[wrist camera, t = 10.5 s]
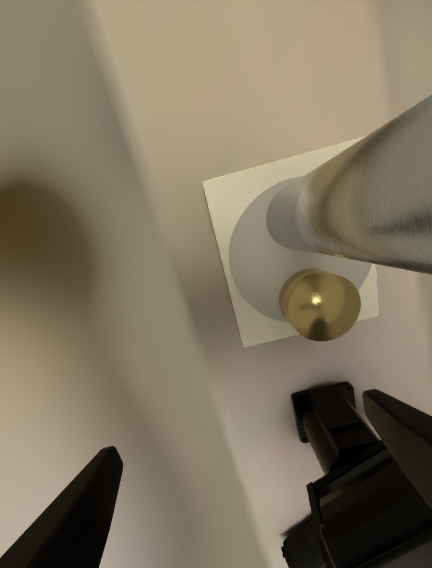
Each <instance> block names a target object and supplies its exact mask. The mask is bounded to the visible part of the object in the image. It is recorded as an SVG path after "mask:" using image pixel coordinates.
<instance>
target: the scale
mask: <svg viewBox="0 0 432 568" xmlns="http://www.w3.org/2000/svg"><path fill="white" fill-rule="evenodd" d="M365 137H366V136H365ZM363 138H364V137H361V138H358V139H354V140H350V141H347V142H343V143H340V144H336V145H332V146H329V147H325V148H321V149H318V150H314V151H310V152H307V153H303V154H300V155H296V156H292V157H289V158H285V159H281V160H278V161H274V162H271V163H267V164H263V165H260V166H256V167H252V168H249V169H245V170H241V171H238V172H234V173H231V174H227V175H223V176H220V177H216V178H212V179H209V180H205V181H202V183H203V187H204V192H205V196H206V200H207V204H208V208H209V212H210V216H211V220H212V224H213V228H214V232H215V236H216V240H217V244H218V248H219V252H220V256H221V260H222V264H223V268H224V272H225V276H226V280H227V284H228V288H229V292H230V296H231V300H232V304H233V308H234V312H235V316H236V320H237V324H238V328H239V332H240V336H241V340H242V344H243V348H245V347H249V346H254V345H258V344H262V343H267V342H271V341H275V340H279V339H284V338H288V337H292V336H296V335H301V334H300V333H299V332H298V331H297V330H296V329H295V328H294V327H293V326H292V324H291V323H290V322H289V321H288V320H287V319H286V318H285V316H284V315H283V314H282V312H281V309H280V306H279V294H280V291H281V288H282V286H283V285H284V283H285V282H286V280H287V279H288V278H289V277H290V276H292V275H293V274H295V273H296V272H298V271H301V270H304V269H309V268H315V269H321V270H324V271H327V272H330V273H333V274H336V275H339V276H342V277H344V278H346V279H348V280H349V281H351V282H352V283H353V284H354V285H355V287H356V288H357V290H358V292H359V295H360V299H361V308H360V313H359V316H358V318H357V320H356V321H360V320H365V319H369V318H373V317H378V316H379V303H378V288H377V273H376V264H372V263H367V262H362V261H356V260H351V259H346V258H340V257H335V256H330V255H324V254H319V253H314V252H309V251H303V250H298V249H293V248H287V247H284V246H282V245H280V244H278V243H277V242H276V241H275V240H274V239H273V238H272V237H271V235H270V234H269V232H268V229H267V225H266V214H267V209H268V207H269V204H270V202H271V201H272V199H273V198H274V197H275V195H276V194H277V193H279V192H280V191H281V190H283V189H284V188H286V187H287V186H289V185H290V184H292V183H294V182H295V181H297V180H298V179H300V178H301V177H303V176H305V175H306V174H308V173H309V172H311V171H312V170H314V169H316V168H317V167H319V166H320V165H322V164H324V163H325V162H327V161H328V160H330V159H331V158H333V157H335V156H336V155H338V154H339V153H341V152H342V151H344V150H346V149H347V148H349V147H350V146H352V145H353V144H355V143H357V142H358V141H360V140H361V139H363Z"/></svg>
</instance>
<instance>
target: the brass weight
mask: <svg viewBox="0 0 432 568" xmlns="http://www.w3.org/2000/svg"><path fill="white" fill-rule="evenodd" d="M279 306H280V309H281V312H282V314H283V315H284V316H285V318H286V319H287V320H288V321H289V322H290V323H291V324H292V326H293V327H294V328H295V329H296V330H297V331H298V332H299V333H300V334H301V335H302V336H304V337H305V338H308V339H310V340H314V341H328V340H332V339H335V338H337V337H339V336H341V335H343V334H344V333H346V332H347V331H348V330H349V329H350V328H351V327H352V326H353V325H354V323H355V322H356V320H357V318H358V316H359V313H360V308H361V299H360V295H359V292H358V290H357V288H356V287H355V285H354V284H353V283H352V282H351V281H349V280H348V279H346V278H344V277H342V276H339V275H336V274H333V273H330V272H327V271H324V270H321V269H315V268H309V269H304V270H301V271H298V272H296V273H295V274H293V275H292V276H290V277H289V278H288V279H287V280H286V282H285V283H284V285H283V286H282V288H281V291H280V294H279Z"/></svg>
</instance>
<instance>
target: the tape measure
mask: <svg viewBox="0 0 432 568" xmlns="http://www.w3.org/2000/svg"><path fill="white" fill-rule="evenodd" d="M281 550H282V552H283V558H285V559H286V562H287V564H288V567H289V568H326V565H325V563H324V561H323V558H322V555H321V551H320V546H319V542H318V537H317V533H316V529H315V524H314V520H311V521H309V522H308V523H307V524H305V525H304V526H302V527H301V528H300V529H298V530H297V531H296V532H294V533H293V534H291V535H290V536H288V537H287V538H286V539H285V540H284V541H283V547H282V546H281Z"/></svg>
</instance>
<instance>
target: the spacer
mask: <svg viewBox="0 0 432 568" xmlns="http://www.w3.org/2000/svg"><path fill="white" fill-rule="evenodd" d="M266 225H267V229H268V232H269V234H270V235H271V237H272V238H273V239H274V240H275V241H276V242H277V243H278V244H280V245H282V246H284V247H287V248H293V249H298V250H303V251H309V252H314V253H319V254H324V255H330V256H335V257H340V258H346V259H351V260H356V261H362V262H367V263H372V264H378V265H383V266H388V267H394V268H399V269H404V270H410V271H415V272H420V273H426V274H431V275H432V95H431V96H429V97H428V98H426V99H424V100H423V101H421V102H420V103H418V104H416V105H415V106H414V107H412V108H410V109H409V110H407V111H405V112H404V113H402V114H401V115H399V116H398V117H396V118H394V119H393V120H391V121H390V122H388V123H387V124H385V125H383V126H382V127H380V128H379V129H377V130H375V131H374V132H372V133H371V134H369V135H368V136H366V137H364V138H363V139H361V140H360V141H358V142H357V143H355V144H353V145H352V146H350V147H349V148H347V149H346V150H344V151H342V152H341V153H339V154H338V155H336V156H335V157H333V158H331V159H330V160H328V161H327V162H325V163H324V164H322V165H320V166H319V167H317V168H316V169H314V170H312V171H311V172H309V173H308V174H306V175H305V176H303V177H301V178H300V179H298V180H297V181H295V182H294V183H292V184H290V185H289V186H287V187H286V188H284V189H283V190H281V191H280V192H279V193H277V194H276V195H275V197H274V198H273V199H272V201H271V202H270V204H269V207H268V209H267V214H266Z"/></svg>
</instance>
